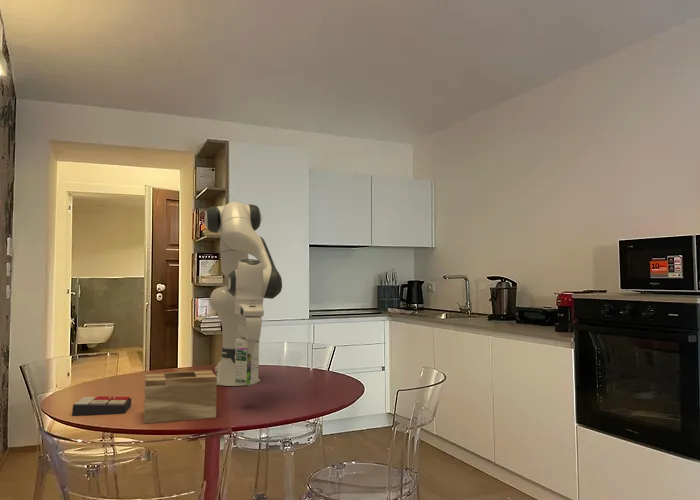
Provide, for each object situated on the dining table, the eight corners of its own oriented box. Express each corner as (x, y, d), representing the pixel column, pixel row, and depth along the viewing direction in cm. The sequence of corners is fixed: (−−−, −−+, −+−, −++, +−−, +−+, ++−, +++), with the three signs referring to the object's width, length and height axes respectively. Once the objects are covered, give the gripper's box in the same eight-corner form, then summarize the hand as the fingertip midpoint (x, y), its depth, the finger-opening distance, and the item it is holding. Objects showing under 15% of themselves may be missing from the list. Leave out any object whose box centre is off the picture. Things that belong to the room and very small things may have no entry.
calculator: (125, 402, 167) (72, 402, 164) (124, 417, 167) (71, 417, 164) (132, 395, 178) (82, 395, 175) (130, 409, 177) (81, 408, 174)
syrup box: (233, 384, 174) (234, 338, 175) (244, 380, 179) (245, 336, 180) (248, 386, 172) (250, 340, 172) (258, 382, 177) (260, 338, 178)
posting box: (144, 412, 168) (145, 373, 169) (210, 407, 175) (210, 369, 176) (144, 423, 155) (145, 381, 156) (216, 417, 162) (216, 376, 163)
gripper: (233, 306, 185) (232, 347, 185) (244, 311, 166) (243, 356, 166) (252, 306, 187) (250, 346, 187) (265, 311, 168) (263, 355, 168)
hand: (247, 351), depth 176 cm, fingers closed on syrup box, 8 cm apart
